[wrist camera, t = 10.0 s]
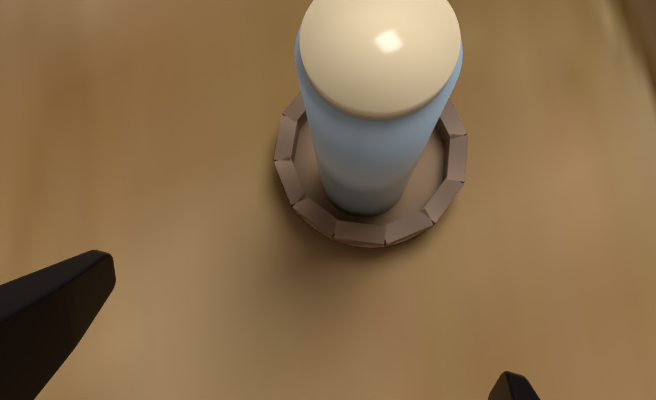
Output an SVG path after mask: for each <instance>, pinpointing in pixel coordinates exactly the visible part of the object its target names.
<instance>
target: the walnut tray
mask: <svg viewBox="0 0 656 400" xmlns="http://www.w3.org/2000/svg"><path fill="white" fill-rule="evenodd" d="M282 114H283V116H281V120H280V126H279V131H278V137H277V143H276V149H275V154H274V161H275V162H274V164H275V166H276V169H277V171H278V174H279V176H280V179H281V181H282V184H283V186H284V189H285V191H286V194H287V197H288V199H289V202H290V204H291V206H292V208H293V209H294V211H295V212H296V213H297V214H299V215H300V216H301V217H302V218H303V219H304V220H305V222H307V223H308V224H309V225H310V226H311V227H312V228H313V229H315V230H316V231H318V232H319V233H321V234H322V235H324V236H326V237H328V238H330V239H331V240H334V241H336V242H339V243H342V244H345V245H349V246H355V247H363V248H378V247H387V246H391V245H395V244H398V243H401V242H404V241H407V240H409V239H411V238H413V237H415V236H417V235H418V234H419V233H421V232H423V231H425V230H428V229H429V228H430V227H432V226H433V225H434V224H435V223H436V222H437V220H438V219H439V218H440V216H441V215H442V214H443V212H444V211H445V210H446V208H447V207H448V205H449V204H450V203H451V201H452V200H453V199H454V197H455V196H456V195H457V193H458V192H459V190H460V189H461V188H462V186H463V185H464V184H463V183H464V182H465V173H466V158H467V144H468V136H466V135H467V131H466V129H465V127H464V125H463V124H462V122H461V120H460V118H459V116H458V114H457V112H456V110H455V108H454V106H453V105H452V103H451V101H450V99H449V98H448V100H447V102H446V104H445V107H444V109H443V111H442V113H441V115H440V117H439V119H438V121H437V123H436V125H435V127H434V129H433V131H432V133H431V136H430V138H429V140H428V142H427V144H426V146H425V148H424V150H423V152H422V154H421V156H420V158H419V160H418V162H417V165H416V167H415V169H414V171H413V173H412V175H411V177H410V179H409V181H408V183H407V185H406V187H405V189H404V191H403V194H402V195H401V197H400V199H399V200H398V202H397V203H396V204H395V205H394V206H393V207H392V208H391V209H389V210H388V211H386V212H384V213H383V214H380V215H378V216H374V217H367V218H360V217H354V216H350V215H348V214H345V213H343V212H341V211H340V210H338V209H337V208H336V207H335V206H334V205H333V204H332V203H331V202H330V201H329V200H328V198H327V197H326V195H325V193H324V190H323V187H322V183H321V178H320V174H319V169H318V165H317V160H316V156H315V151H314V146H313V142H312V137H311V133H310V128H309V124H308V119H307V115H306V110H305V106H304V101H303V97H302V92H300V93H299V94H298V95H297V96H296V98H295V99H294V100H293V101H292V102H291V103H290V105H289V106H288V107H287V108H286V109H285V111H284V112H283V113H282Z"/></svg>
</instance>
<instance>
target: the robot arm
mask: <svg viewBox="0 0 656 400" xmlns="http://www.w3.org/2000/svg"><path fill="white" fill-rule="evenodd" d="M115 283H116V276H115V269H114V262H113V257H112V256H111V254H109V253H106V252H102V251H99V250H91V251H88V252H85V253H83V254H80V255H77V256H75V257H72V258H70V259H67V260H64V261H62V262H59V263H57V264H54V265H51V266H49V267H46V268H44V269H41V270H38V271H36V272H33V273H31V274H28V275H25V276H23V277H20V278H18V279H15V280H12V281H10V282H7V283H5V284H2V285H0V400H34V399H35V398H36V396H37V395H38V394H39V393H40V391H41V390H42V389H43V388H44V386H45V385H46V384H47V383H48V381H49V380H50V379H51V378H52V376H53V375H54V374H55V373H56V371H57V370H58V369H59V368H60V366H61V365H62V364H63V363H64V361H65V360H66V359H67V358H68V356H69V355H70V354H71V352H72V351H73V350H74V348H75V347H76V346H77V344H78V343H79V341H80V340H81V339H82V337H83V336H84V334H85V332H86V331H87V329H88V328H89V326H90V325H91V323H92V322H93V320H94V319H95V317H96V315H97V314H98V312H99V311H100V309H101V308H102V306H103V305H104V303H105V301H106V300H107V298H108V297H109V295H110V294H111V292H112V290H113V289H114V286H115ZM488 400H540V398H539V397H538V395H537V394H536V392H535V391H534V389H533V388H532V386H531V384H530V383H529V381H528V380H527V379H526V378H525V377H524V376H522V375H519V374H516V373H513V372H509V371H504V372H503V373H502V374H501V375H500V377H499V379H498V380H497V382H496V384H495V385H494V387H493V389H492V390H491V392H490V394H489V397H488Z"/></svg>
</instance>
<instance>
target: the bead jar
mask: <svg viewBox="0 0 656 400" xmlns="http://www.w3.org/2000/svg"><path fill="white" fill-rule="evenodd" d="M462 56H463V52H462V42H461V37H460V29H459V24H458V21H457V18H456V15H455V13H454V11H453V9H452V7H451V6H450V4H449V3H448V2H447V0H314V1H313V2H312V3H311V5H310V6H309V8H308V10H307V12H306V14H305V16H304V19H303V22H302V25H301V27H300V29H299V32H298V35H297V39H296V44H295V64H296V69H297V74H298V79H299V83H300V88H301V92H302V97H303V101H304V106H305V110H306V115H307V119H308V124H309V128H310V133H311V137H312V142H313V146H314V151H315V156H316V160H317V165H318V169H319V174H320V178H321V183H322V187H323V190H324V193H325V195H326V197H327V198H328V200H329V201H330V202H331V203H332V204H333V205H334V206H335V207H336V208H337V209H338V210H340V211H341V212H343V213H345V214H348V215H350V216H354V217H360V218H367V217H374V216H378V215H380V214H383V213H384V212H386V211H388V210H389V209H391V208H392V207H393V206H394V205H395V204H396V203H397V202H398V200H399V199H400V197H401V195H402V194H403V191H404V189H405V187H406V185H407V183H408V181H409V179H410V177H411V175H412V173H413V171H414V169H415V167H416V165H417V162H418V160H419V158H420V156H421V154H422V152H423V150H424V148H425V146H426V144H427V142H428V140H429V138H430V136H431V133H432V131H433V129H434V127H435V125H436V123H437V121H438V119H439V117H440V115H441V113H442V111H443V109H444V107H445V104H446V102H447V100H448V98H449V96H450V94H451V92H452V90H453V88H454V86H455V84H456V81H457V79H458V76H459V74H460V70H461V65H462Z"/></svg>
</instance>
